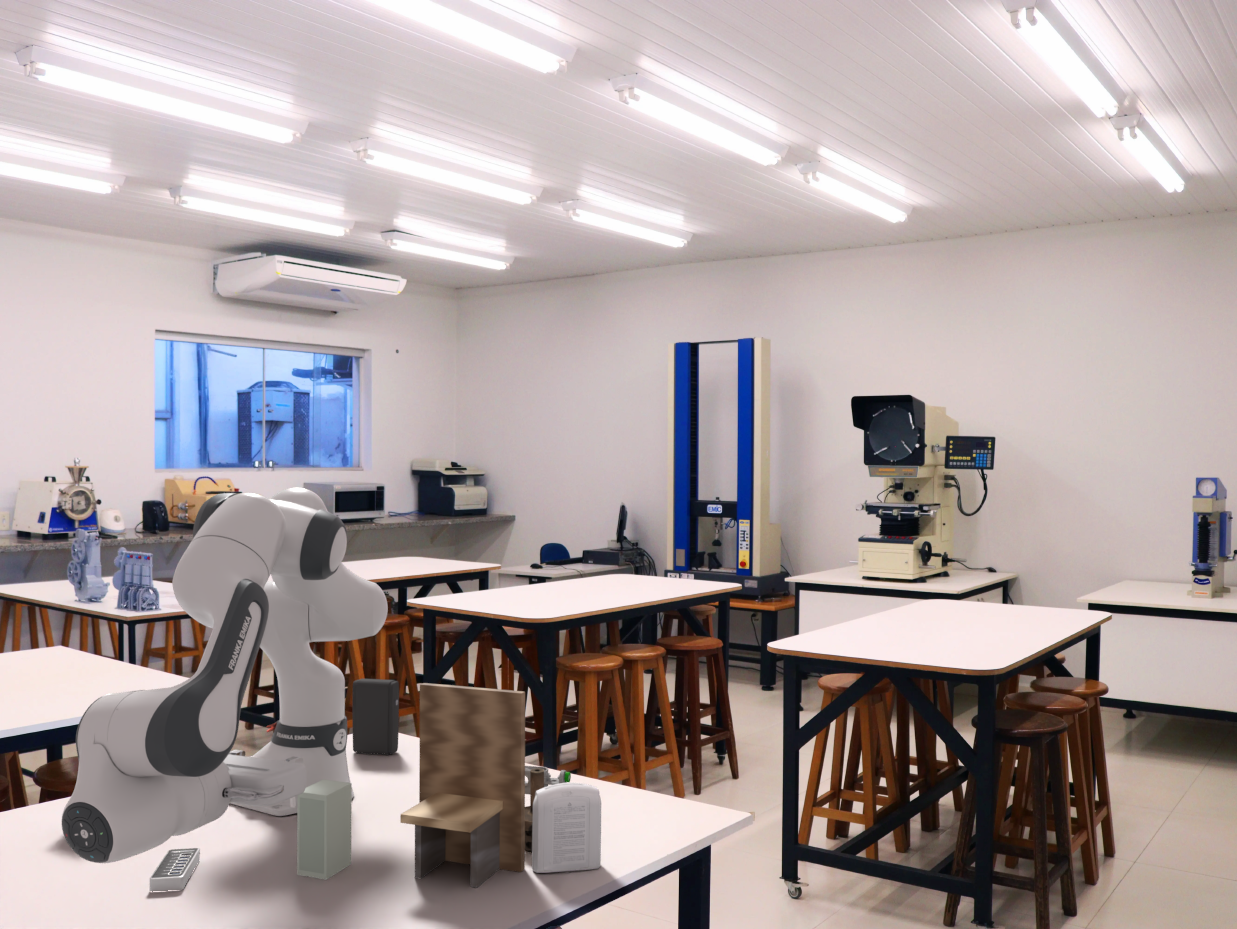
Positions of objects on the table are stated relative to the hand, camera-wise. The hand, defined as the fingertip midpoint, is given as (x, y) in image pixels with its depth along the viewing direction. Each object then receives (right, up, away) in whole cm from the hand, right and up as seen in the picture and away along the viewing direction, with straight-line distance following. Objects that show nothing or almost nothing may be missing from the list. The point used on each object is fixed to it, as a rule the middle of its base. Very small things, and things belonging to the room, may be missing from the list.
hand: (269, 759), depth 134 cm
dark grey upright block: (-3, -20, +71) cm, 74 cm away
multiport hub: (-17, -20, +9) cm, 27 cm away
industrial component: (+35, -20, +19) cm, 44 cm away
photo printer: (+39, -20, +12) cm, 46 cm away
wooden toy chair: (+23, -19, +9) cm, 32 cm away
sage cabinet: (+4, -19, +11) cm, 23 cm away
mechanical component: (+34, -20, +27) cm, 48 cm away
